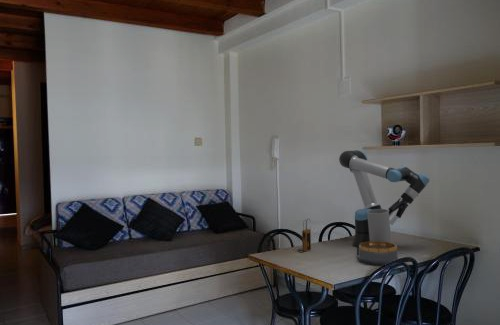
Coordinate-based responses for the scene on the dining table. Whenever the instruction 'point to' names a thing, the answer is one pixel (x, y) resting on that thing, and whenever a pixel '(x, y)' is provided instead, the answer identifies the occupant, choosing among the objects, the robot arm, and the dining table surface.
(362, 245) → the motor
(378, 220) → the cylinder vase
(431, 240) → the dining table surface
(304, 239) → the multimeter
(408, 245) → the dining table surface
